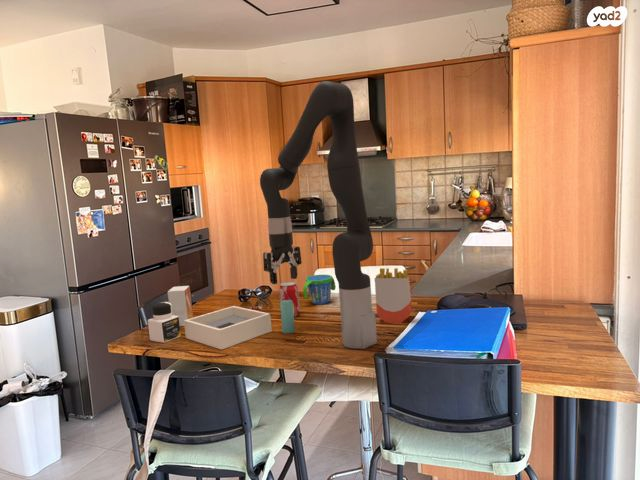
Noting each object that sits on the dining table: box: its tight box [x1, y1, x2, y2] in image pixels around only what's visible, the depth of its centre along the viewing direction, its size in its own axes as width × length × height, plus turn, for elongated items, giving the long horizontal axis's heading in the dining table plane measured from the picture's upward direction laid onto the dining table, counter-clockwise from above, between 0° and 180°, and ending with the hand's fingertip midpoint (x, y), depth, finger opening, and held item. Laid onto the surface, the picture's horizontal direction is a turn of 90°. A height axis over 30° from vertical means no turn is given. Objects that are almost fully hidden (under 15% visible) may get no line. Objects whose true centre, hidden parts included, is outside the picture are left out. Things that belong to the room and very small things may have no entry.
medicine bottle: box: [147, 301, 182, 344], centre depth 164 cm, size 7×7×12 cm
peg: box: [279, 300, 296, 334], centre depth 162 cm, size 4×4×10 cm
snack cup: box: [302, 274, 336, 305], centre depth 196 cm, size 16×11×10 cm
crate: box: [183, 305, 272, 351], centre depth 164 cm, size 20×20×6 cm
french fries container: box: [374, 267, 413, 324], centre depth 165 cm, size 5×11×18 cm, turn 70°
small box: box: [167, 285, 194, 327], centre depth 181 cm, size 8×6×13 cm
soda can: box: [278, 281, 301, 318], centre depth 180 cm, size 7×7×12 cm
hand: (284, 281), depth 161 cm, fingers open, 8 cm apart
